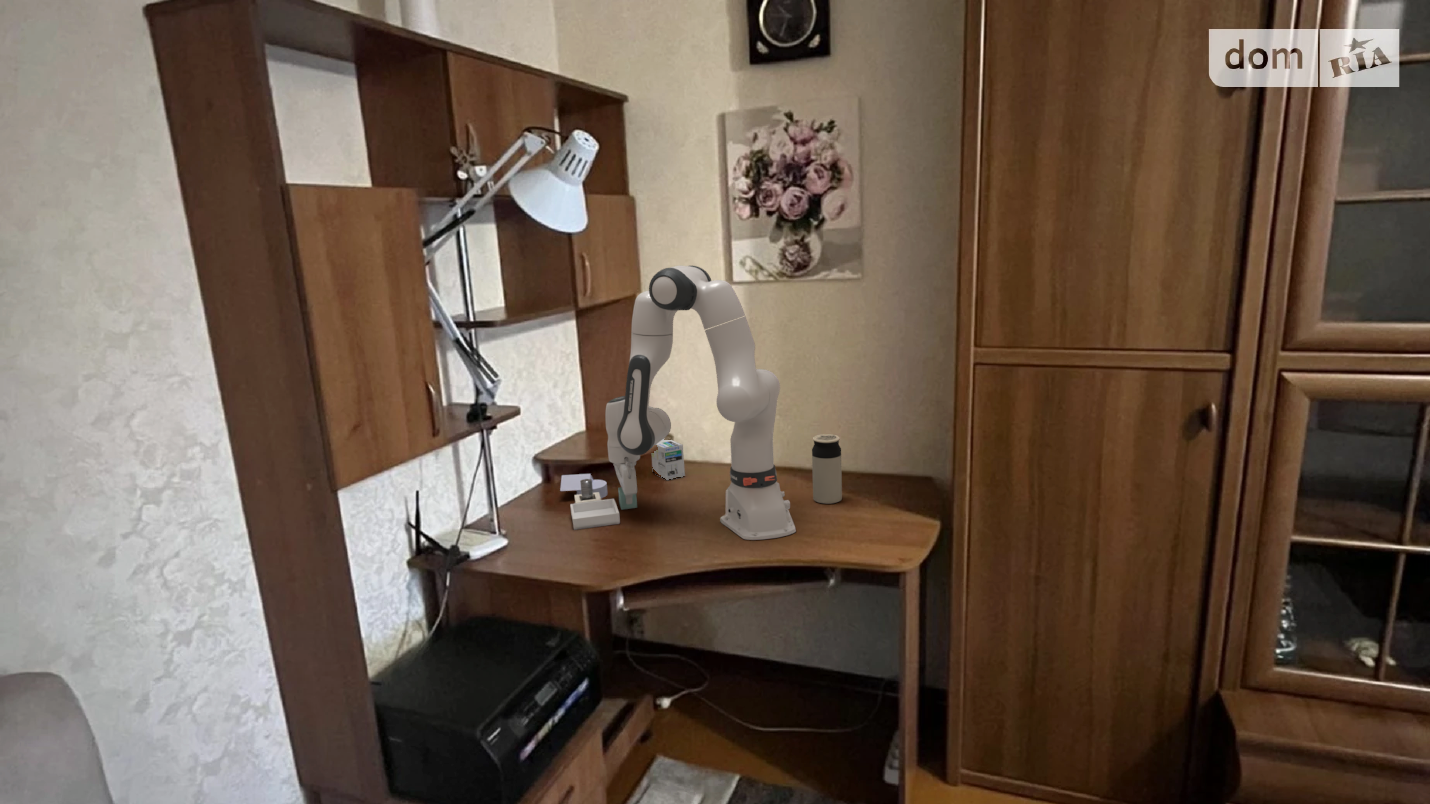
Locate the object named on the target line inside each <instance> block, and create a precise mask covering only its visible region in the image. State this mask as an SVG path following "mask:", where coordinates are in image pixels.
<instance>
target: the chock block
mask: <svg viewBox="0 0 1430 804" xmlns="http://www.w3.org/2000/svg"><path fill="white" fill-rule="evenodd" d="M617 489H618V493H617V494H618V504H619V507H620V510H628V509H635V508H638V501H637V500H638V499H637V494H633V496H632V501H633V503H632V504H626V500H625V494H624V492H623V490H622V487H621V486H620V487H618V488H617Z"/></svg>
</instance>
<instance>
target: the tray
mask: <svg viewBox="0 0 1430 804" xmlns="http://www.w3.org/2000/svg"><path fill="white" fill-rule="evenodd" d="M569 506H570V515H571V520H572V526H573V531H576V530H577V531H578V530H583V529H590V528H592V529H593V528H598V527H599V528H601V527H606V526H607V527H608V526H611V525H612V526H614V525H619V524H621V519H620V516H621V515H620V511H619V509H618V506H617V502H616V500H615V498H607V499H601V500H599V501H591V502H583V503H576V504H575V503H570V505H569Z"/></svg>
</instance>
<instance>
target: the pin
mask: <svg viewBox="0 0 1430 804" xmlns="http://www.w3.org/2000/svg"><path fill="white" fill-rule="evenodd" d="M580 483H581V493H582V501H583V500H591V499H593V488H592V480H591V479H583V480H581V481H580Z"/></svg>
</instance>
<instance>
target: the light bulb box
mask: <svg viewBox="0 0 1430 804" xmlns="http://www.w3.org/2000/svg"><path fill="white" fill-rule="evenodd" d="M664 439H665V438H664ZM664 439H662V440H661V441H660V442H659V443H657V444H656V445H657V447H658V450H656V451H654V453H650V455H651V468H652V467H653V468H652V470H653V469H654V470H655V471H656V472H657V473H658V474H659V475H661V477H660V478H662V477H663V478H665V479H666V480H665V479H664V480H665V481H670V480H669V479H671V480H674V479H673V478H676V477H681V478H684V477H683V476H685V477H686V473H685V472H686V470H685V460H684V458H685V457H684V444H683V443H680V442H678V441H676V440H672V439H671V440H664ZM663 478H662V479H663ZM676 479H677V478H676Z"/></svg>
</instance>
